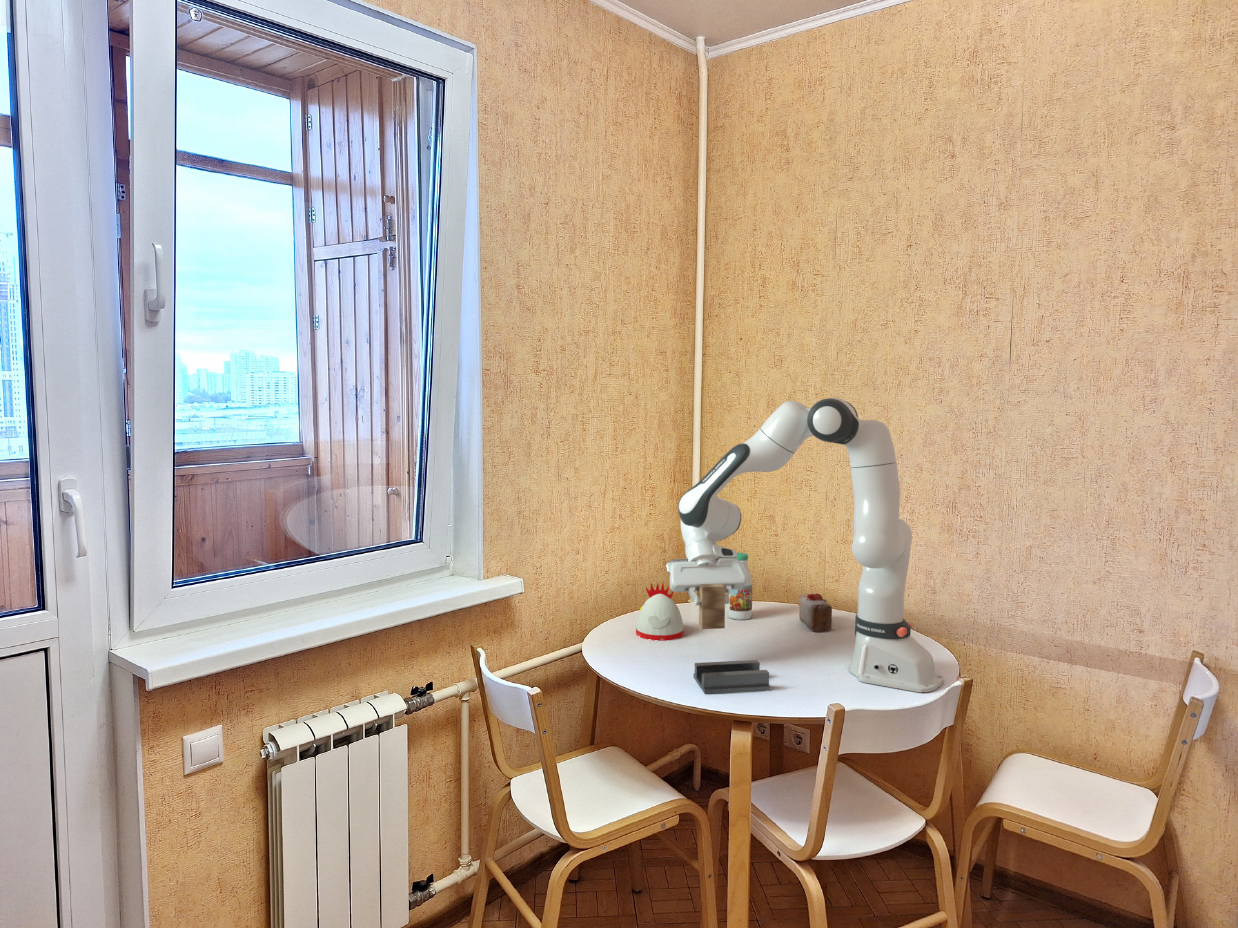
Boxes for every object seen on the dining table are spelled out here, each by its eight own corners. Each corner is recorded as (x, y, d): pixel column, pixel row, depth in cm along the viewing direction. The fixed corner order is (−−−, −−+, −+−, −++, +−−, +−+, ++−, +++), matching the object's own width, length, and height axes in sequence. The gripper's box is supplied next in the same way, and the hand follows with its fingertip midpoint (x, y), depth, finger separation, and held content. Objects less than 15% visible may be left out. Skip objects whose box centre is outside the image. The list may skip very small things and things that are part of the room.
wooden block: (721, 624, 211) (721, 583, 210) (724, 628, 208) (725, 586, 207) (699, 625, 210) (699, 584, 209) (702, 629, 207) (702, 587, 206)
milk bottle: (721, 616, 251) (722, 553, 249) (736, 611, 256) (738, 550, 254) (741, 622, 245) (743, 557, 243) (756, 616, 251) (758, 553, 249)
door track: (755, 673, 202) (755, 658, 202) (770, 690, 191) (770, 674, 191) (693, 677, 200) (693, 661, 199) (704, 694, 189) (705, 677, 188)
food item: (795, 619, 249) (796, 587, 248) (820, 618, 250) (821, 587, 249) (810, 632, 235) (810, 600, 234) (836, 632, 236) (837, 599, 235)
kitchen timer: (637, 625, 242) (638, 576, 240) (683, 626, 241) (684, 577, 239) (634, 640, 228) (634, 588, 227) (683, 641, 227) (683, 589, 225)
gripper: (667, 553, 212) (675, 599, 204) (741, 550, 215) (753, 595, 207) (663, 566, 217) (671, 611, 208) (736, 563, 220) (747, 607, 212)
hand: (712, 603), depth 208 cm, fingers closed on wooden block, 6 cm apart
